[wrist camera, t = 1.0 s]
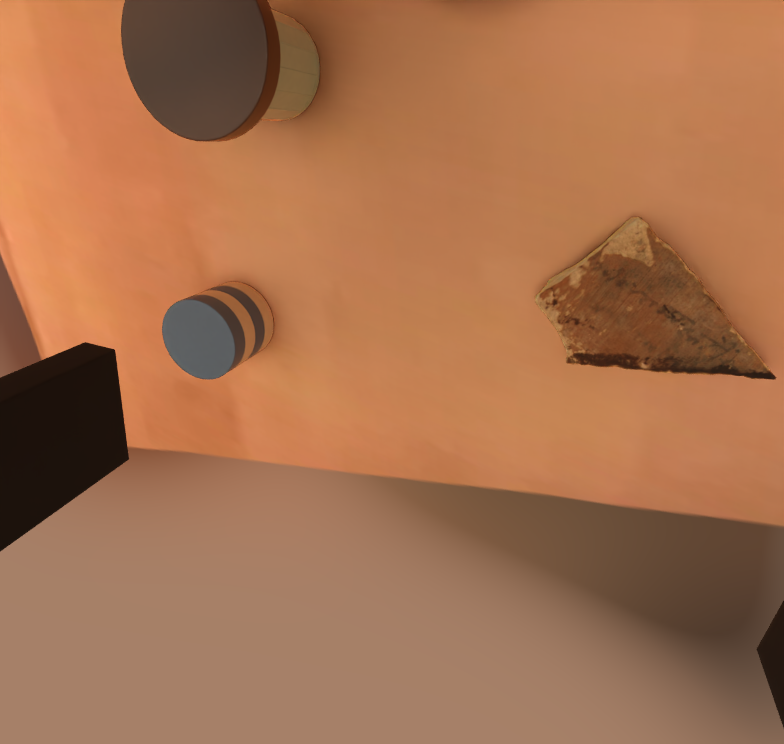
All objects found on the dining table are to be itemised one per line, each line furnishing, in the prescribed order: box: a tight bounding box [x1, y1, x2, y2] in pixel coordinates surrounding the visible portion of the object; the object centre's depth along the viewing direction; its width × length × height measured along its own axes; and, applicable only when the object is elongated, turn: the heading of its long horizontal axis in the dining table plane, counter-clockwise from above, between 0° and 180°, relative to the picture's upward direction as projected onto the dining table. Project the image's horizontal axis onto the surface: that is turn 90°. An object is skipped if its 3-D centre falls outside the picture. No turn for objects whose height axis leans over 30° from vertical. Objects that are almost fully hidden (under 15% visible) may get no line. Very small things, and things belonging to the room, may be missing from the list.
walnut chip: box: [121, 0, 281, 141], centre depth 24 cm, size 8×8×1 cm
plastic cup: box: [260, 9, 320, 121], centre depth 28 cm, size 5×5×6 cm
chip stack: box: [162, 282, 274, 379], centre depth 36 cm, size 5×5×5 cm
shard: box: [535, 217, 776, 380], centre depth 29 cm, size 11×8×2 cm
